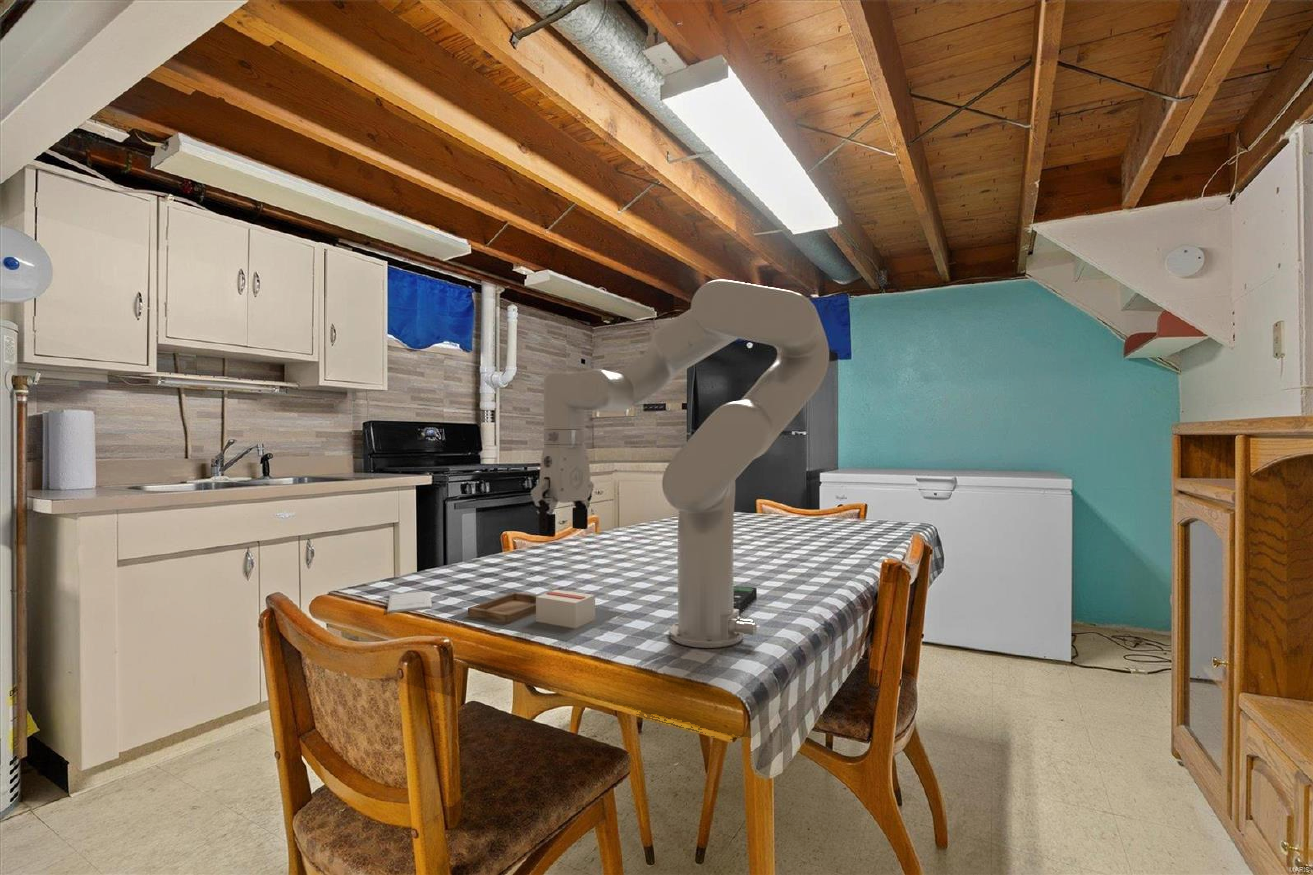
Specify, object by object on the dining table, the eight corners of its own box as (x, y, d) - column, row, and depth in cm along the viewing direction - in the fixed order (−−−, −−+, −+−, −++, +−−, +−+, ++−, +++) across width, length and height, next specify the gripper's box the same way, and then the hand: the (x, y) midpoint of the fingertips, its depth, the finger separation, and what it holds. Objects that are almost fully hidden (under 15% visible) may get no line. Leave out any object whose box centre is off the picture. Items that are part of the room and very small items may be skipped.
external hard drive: (430, 598, 132) (431, 613, 121) (389, 602, 129) (386, 618, 118) (430, 590, 132) (431, 605, 121) (389, 594, 129) (386, 609, 118)
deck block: (595, 619, 112) (595, 594, 112) (575, 628, 107) (575, 601, 107) (556, 612, 117) (556, 588, 117) (536, 621, 112) (535, 595, 111)
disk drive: (737, 620, 115) (757, 599, 129) (737, 605, 115) (757, 586, 128) (686, 614, 119) (710, 595, 133) (686, 600, 119) (710, 582, 133)
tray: (553, 606, 122) (553, 598, 122) (508, 624, 110) (508, 615, 110) (515, 599, 126) (515, 592, 126) (467, 616, 115) (467, 608, 115)
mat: (623, 615, 116) (623, 612, 116) (566, 643, 101) (566, 640, 101) (512, 597, 130) (512, 595, 130) (446, 620, 114) (446, 617, 114)
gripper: (550, 440, 103) (550, 541, 103) (607, 439, 118) (607, 527, 118) (516, 439, 106) (516, 537, 106) (576, 439, 121) (575, 524, 121)
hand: (564, 532), depth 112 cm, fingers open, 9 cm apart
